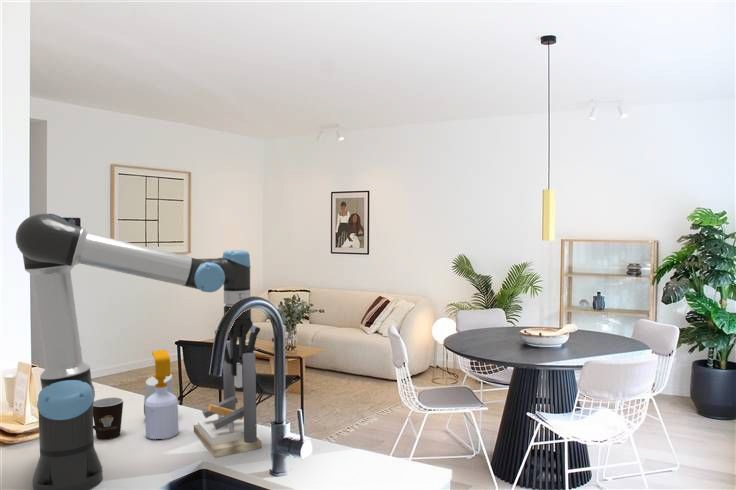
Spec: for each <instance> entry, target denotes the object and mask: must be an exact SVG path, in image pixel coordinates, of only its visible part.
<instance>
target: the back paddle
mask: <svg viewBox="0 0 736 490" xmlns="http://www.w3.org/2000/svg"><path fill="white" fill-rule="evenodd" d="M238 403H239V401H238V398H237V397H236V395H235V396H232V397H230V398H228V399H226V400H224V399H223V400H222V401H220V402H218V403H215V404H214V405H216V406H220V407H224V408H228V407H230V406H232V405H234V404H235V405H236V404H238ZM202 414H203V416H204V418H205V419H208V418H210V417H211V416H215V414H217V413H214V412H210V411H209V410H208V407H207V408H206V409H203V410H202Z"/></svg>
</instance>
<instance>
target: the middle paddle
mask: <svg viewBox="0 0 736 490" xmlns="http://www.w3.org/2000/svg"><path fill="white" fill-rule="evenodd" d="M207 408H208V410H209V411H210V412H214V413H216V414H217V415H218V414H221V415H225V416H226V415H228V414H230V413H232V412H234V410H231V409H227V408H224V407H220V406H216V405H215V404H212V403H208V406H207ZM242 419H244V416H243V417H241V418H239V420H242Z"/></svg>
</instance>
